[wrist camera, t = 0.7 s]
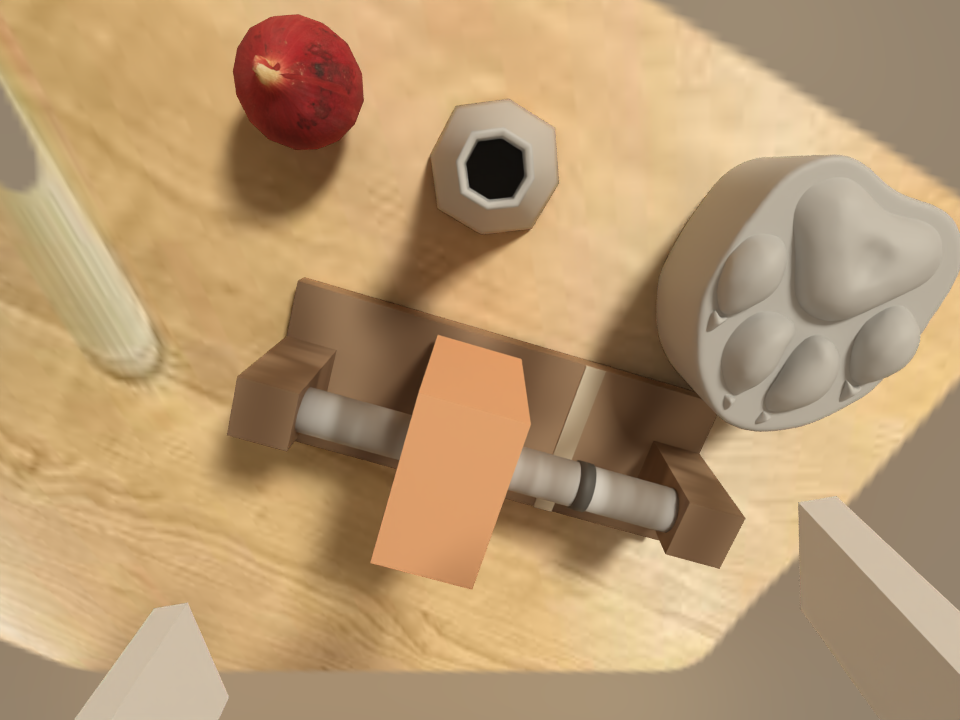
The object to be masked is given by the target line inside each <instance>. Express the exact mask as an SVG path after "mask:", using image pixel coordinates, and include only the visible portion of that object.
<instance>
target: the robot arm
mask: <svg viewBox="0 0 960 720" xmlns="http://www.w3.org/2000/svg"><path fill="white" fill-rule="evenodd" d="M798 510H799V564H800V609H801V611H802V612H803V613H804V615H805V616H806V618H807V619H808V621H809V622H810V623H811V625H812V626H813V628H814V629H815V630H816V632H817V633H818V634H819V636H820V637H821V639H822V640H823V641H824V643H825V644H826V646H827V647H828V648H829V649H830V651H831V652H832V654H833V655H834V656H835V658H836V659H837V661H838V662H839V664H840V665H841V666H842V668H843V669H844V671H845V672H846V673H847V675H848V676H849V678H850V679H851V680H852V682H853V683H854V684H855V686H856V687H857V689H858V690H859V691H860V693H861V694H862V696H863V697H864V698H865V700H866V701H867V702H868V704H869V705H870V707H871V708H872V709H873V711H874V712H875V714H876V715H877V716H878V718H879V719H880V720H960V611H958V610H957V609H956V608H955V607H954V606H953V605H952V604H951V603H950V602H949V601H948V600H947V599H946V598H945V597H944V596H942V595H941V594H940V593H939V592H938V591H937V590H936V589H935V588H934V587H933V586H932V585H931V584H930V583H929V582H927V581H926V580H925V579H924V578H923V577H922V576H921V575H920V574H919V573H918V572H917V571H916V570H915V569H914V568H913V567H911V566H910V565H909V564H908V563H907V562H906V561H905V560H904V559H903V558H902V557H901V556H900V555H899V554H898V553H897V552H895V551H894V550H893V549H892V548H891V547H890V546H889V545H888V544H887V543H886V542H884V541H883V539H882V538H880V537H879V536H878V535H877V534H876V533H875V532H874V531H873V530H872V529H871V528H870V527H869V526H867V525H866V524H865V523H864V522H863V521H862V520H861V519H860V518H859V517H858V516H857V515H856V514H855V513H854V512H852V511H851V509H849V508H848V507H847V506H846V505H845V504H844V503H843V502H842V501H841V500H840V499H839V498H838V497H837V496H835V497H829V498H823V499H817V500H810V501H804V502H798ZM228 698H229V696H228V694H227V691H226V689H225V687H224V685H223V682H222V680H221V678H220V675H219V673H218V671H217V669H216V666H215V664H214V662H213V659H212V657H211V655H210V653H209V650H208V648H207V646H206V643H205V641H204V639H203V637H202V634H201V632H200V630H199V627H198V625H197V623H196V621H195V618H194V616H193V614H192V611H191V609H190V607H189V605H188V603H183V604H177V605H171V606H165V607H159V608H154V609H153V611H152V612H151V614H150V615H149V616H148V618H147V619H146V620H145V622H144V623H143V625H142V626H141V627H140V629H139V630H138V632H137V633H136V634H135V636H134V637H133V639H132V640H131V641H130V643H129V644H128V645H127V647H126V648H125V650H124V651H123V652H122V654H121V655H120V657H119V658H118V659H117V661H116V662H115V664H114V665H113V666H112V668H111V669H110V670H109V672H108V673H107V675H106V676H105V678H104V679H103V681H102V682H101V683H100V684H99V686H98V687H97V689H96V690H95V691H94V693H93V694H92V696H91V697H90V698H89V700H88V701H87V702H86V704H85V705H84V707H83V708H82V709H81V711H80V712H79V714H78V715H77V716H76V718H75V719H74V720H219V718H220V715H221V713H222V711H223V709H224V707H225V705H226V702H227V700H228Z"/></svg>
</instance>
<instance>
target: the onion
mask: <svg viewBox="0 0 960 720" xmlns="http://www.w3.org/2000/svg"><path fill="white" fill-rule="evenodd" d="M233 74H234V81H235V88H236V95H237V97H238V99H239V101H240V103H241V105H242V107H243V109H244V111H245V113H246V115H247V117H248V119H249V121H250V122H251V123H252V124H253V125H254V126H255V127H256V128H257V129H258V130H259V131H261V132H262V133H263V134H264V135H265V136H266V137H267V138H268V139H269V140H272V141H274V142H277V143H279V144H282V145H285V146H287V147H290V148H293V149H295V150H311V149H319V148H322V147H324V146H327V145H329V144H332V143H334V142H337V141H339V140H340V139H341V138H342V137H343V136H344V135H345V134H346V133H347V132H348V131H349V130H350V129H351V127H352V126H353V125H354V124H355V122H356V120H357V117H358V114H359V112H360V109H361V107H362V104H363V101H364V97H363V82H362V73H361V70H360V68H359V66H358V64H357V62H356V60H355V58H354V56H353V54H352V52H351V50H350V48H349V45H348V44H347V43H346V42H345V41H344V40H343V39H341V38H340V37H339V36H338V35H337V34H336V33H334V32H333V31H332V30H331V29H330V28H329V27H327V26H326V25H324V24H323V23H321V22H318V21H316V20H313V19H310V18H307V17H304V16H301V15H299V14H296V15H284V16H274V17H270V18H268V19H266V20H264V21H262V22H260V23H259V24H257V25H255V26H253V27H251V28H250V29H249V30H248V32H247V33H246V35H245V37H244V38H243V40H242V41H241V43H240V45H239V46H238V48H237V53H236V58H235V63H234V68H233Z"/></svg>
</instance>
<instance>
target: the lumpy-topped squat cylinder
mask: <svg viewBox="0 0 960 720" xmlns="http://www.w3.org/2000/svg"><path fill="white" fill-rule="evenodd" d="M959 270H960V233H959V230H958V227H957V225H956V223H955V222H954V220H953V219H952V218H951V217H950V216H949V215H948V214H947V213H946V212H944V211H943V210H941V209H939V208H937V207H936V206H934V205H931V204H929V203H926V202H922V201H920V200H917V199H914V198H910V197H908V196H905V195H903V194H901V193H899V192H897V191H895V190H894V189H892V188H891V187H890V186H888V185H887V184H886V183H885V182H883V181H882V180H881V179H880V178H879V177H878V176H877V175H876V174H875V173H874V172H873V171H872V170H871V169H870V168H868V167H867V166H865V165H864V164H863V163H861V162H859V161H857V160H855V159H853V158H851V157H847V156H842V155H812V156H789V157H763V158H756V159H752V160H749V161H746V162H744V163H742V164H740V165H738V166H736V167H734V168H733V169H731V170H730V171H728V172H727V173H726V174H725V175H724V176H723V177H721V178H720V179H719V180H718V182H717V183H716V184H715V185H714V186H713V187H712V189H711V190H710V191H709V192H708V194H707V195H706V197H705V198H704V199H703V201H702V202H701V204H700V205H699V206H698V208H697V209H696V210H695V212H694V213H693V215H692V216H691V217H690V219H689V220H688V222H687V224H686V225H685V227H684V228H683V230H682V232H681V233H680V235H679V237H678V238H677V240H676V242H675V244H674V246H673V247H672V249H671V251H670V253H669V255H668V257H667V259H666V261H665V263H664V266H663V268H662V270H661V273H660V276H659V281H658V288H657V303H656V319H657V330H658V335H659V339H660V342H661V345H662V348H663V350H664V352H665V354H666V356H667V358H668V360H669V362H670V363H671V365H672V366H673V367H674V369H675V370H676V371H677V372H678V373H679V374H680V375H681V376H682V378H683V379H684V380H685V381H686V382H687V383H688V384H689V385H690V386H691V388H692V389H693V390H694V391H695V392H696V393H697V394H698V395H699V396H700V397H701V398H702V400H703V401H704V402H705V403H706V404H707V405H708V406H709V407H710V408H711V409H712V410H713V411H714V412H715V413H716V414H717V415H718V416H719V417H720V418H721V419H722V420H724V421H725V422H727V423H729V424H731V425H733V426H735V427H738V428H741V429H745V430H750V431H760V432H761V431H777V430H785V429H790V428H796V427H800V426H804V425H807V424H810V423H813V422H815V421H818V420H820V419H822V418H825V417H827V416H829V415H831V414H833V413H835V412H837V411H839V410H840V409H842V408H844V407H846V406H848V405H850V404H851V403H853V402H855V401H857V400H859V399H860V398H862V397H864V396H865V395H866V394H868V393H869V392H870V391H871V390H873V389H874V388H875V387H876V386H877V385H878V384H879V383H880V382H881V381H882V379H883V378H886V377H888V376H890V375H892V374H894V373H896V372H898V371H899V370H901V369H902V368H903V367H905V366H906V365H907V364H908V363H909V362H910V360H911V359H912V358H913V356H914V355H915V353H916V351H917V348H918V346H919V342H920V335H921V333H922V332H923V330H924V329H925V328H926V326H927V325H928V323H929V321H930V319H931V318H932V316H933V315H934V314H935V312H936V311H937V310H938V308H939V307H940V305H941V304H942V302H943V300H944V299H945V297H946V296H947V294H948V293H949V291H950V289H951V287H952V285H953V283H954V281H955V279H956V277H957V275H958V272H959Z"/></svg>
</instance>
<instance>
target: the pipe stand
mask: <svg viewBox="0 0 960 720" xmlns="http://www.w3.org/2000/svg"><path fill="white" fill-rule="evenodd" d="M438 335H440V336H444V337H447V338H451V339H454V340H458V341H461V342H465V343H468V344H471V345H475V346H478V347H482V348H485V349H489V350H492V351H495V352H499V353H502V354H506V355H509V356H513V357H516V358H520V359H522V366H523V373H524V380H525V387H526V394H527V400H528V407H529V414H530V421H531V426H530V429H529V431H528V434H527V437H526V440H525V443H524V445H523V448H522V451H521V454H520V457H519V459H518V462H517V465H516V468H515V471H514V474H513V476H512V479H511V482H510V485H509V488H508V490H507V493H506V496H505V499H509V500H513V501H516V502H520V503H524V504H527V505H531V506H534V507H535V508H539V509H543V510H546V511H550V512H552V511H553V512H557V513H560V514H564V515H568V516H571V517H575V518H579V519H582V520H586V521H590V522H593V523H597V524H601V525H604V526H608V527H612V528H615V529H619V530H623V531H626V532H630V533H634V534H637V535H641V536H645V537H648V538H652V539H656V540H660V543H661V545H662V547H663V549H664V552H665V554H667V555H670V556H674V557H678V558H682V559H685V560H689V561H693V562H696V563H700V564H704V565H707V566H711V567H715V568H718V569H720V567H721V565H722V563H723V561H724V559H725V557H726V555H727V553H728V551H729V549H730V547H731V545H732V543H733V541H734V539H735V538H736V536H737V534H738V532H739V530H740V528H741V526H742V524H743V522H744V520H745V517H744V516H743V514H742V513H741V511H740V510H739V509H738V507H737V506H736V504H735V503H734V502H733V500H732V499H731V497H730V496H729V495H728V493H727V492H726V490H725V489H724V488H723V486H722V485H721V483H720V482H719V481H718V479H717V478H716V476H715V475H714V474H713V472H712V471H711V469H710V468H709V467H708V465H707V464H706V462H705V461H704V460H703V458H702V457H701V455H700V454H699V453H700V451H701V449H702V446H703V444H704V442H705V440H706V438H707V436H708V434H709V431H710V429H711V427H712V425H713V423H714V421H715V419H716V416H717V414H716V413H715V412H714V411H713V410H712V409H711V408H710V407H709V406H708V405H707V404H706V403H705V402H704V401H703V400H702V398H701V397H700V396H699V395H698V394H697V393H696V392H694V391H691V390H687V389H684V388H680V387H677V386H674V385H670V384H667V383H663V382H660V381H656V380H653V379H650V378H646V377H643V376H639V375H636V374H633V373H629V372H626V371H622V370H619V369H616V368H612V367H609V366H605V365H602V364H598V363H595V362H592V361H588V360H585V359H581V358H578V357H575V356H571V355H568V354H564V353H561V352H557V351H554V350H551V349H547V348H544V347H540V346H537V345H534V344H530V343H527V342H523V341H520V340H517V339H513V338H510V337H506V336H503V335H499V334H496V333H493V332H489V331H486V330H482V329H479V328H476V327H472V326H469V325H465V324H462V323H459V322H455V321H452V320H448V319H445V318H441V317H438V316H435V315H431V314H428V313H424V312H421V311H418V310H414V309H411V308H407V307H404V306H401V305H397V304H394V303H390V302H387V301H383V300H380V299H377V298H373V297H370V296H366V295H363V294H360V293H356V292H353V291H349V290H346V289H343V288H339V287H336V286H332V285H329V284H325V283H322V282H319V281H315V280H312V279H308V278H305V277H304V278H302V279H301V280H299V281H298V283H297V288H296V293H295V298H294V303H293V308H292V313H291V318H290V323H289V328H288V333H287V336H286V337H285V338H284V339H283V340H281V341H280V342H279V343H278V344H277V345H275V346H274V347H273V348H272V349H270V350H269V351H268V352H267V353H265V354H264V355H263V356H262V357H261V358H259V359H258V360H257V361H256V362H254V363H253V364H252V365H251V366H250V367H248V368H247V369H246V370H245V371H243V372H242V373H241V374H240V375H239V376H237V381H236V387H235V393H234V398H233V404H232V410H231V416H230V421H229V427H228V433H227V435H228V436H232V437H236V438H239V439H243V440H247V441H251V442H254V443H258V444H262V445H265V446H269V447H273V448H276V449H280V450H284V451H288V449H289V448H290V447H291V445H292V444H293V442H294V441H297V442H300V443H304V444H308V445H311V446H315V447H319V448H322V449H326V450H330V451H333V452H337V453H341V454H344V455H348V456H352V457H355V458H359V459H363V460H366V461H370V462H373V463H377V464H381V465H384V466H388V467H392V468H395V469H397V467H398V464H399V460H400V456H401V453H402V449H403V446H404V442H405V439H406V435H407V432H408V428H409V425H410V421H411V418H412V414H413V411H414V407H415V404H416V400H417V396H418V393H419V390H420V387H421V384H422V381H423V378H424V375H425V372H426V369H427V366H428V363H429V360H430V357H431V354H432V351H433V348H434V345H435V342H436V339H437V336H438Z"/></svg>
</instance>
